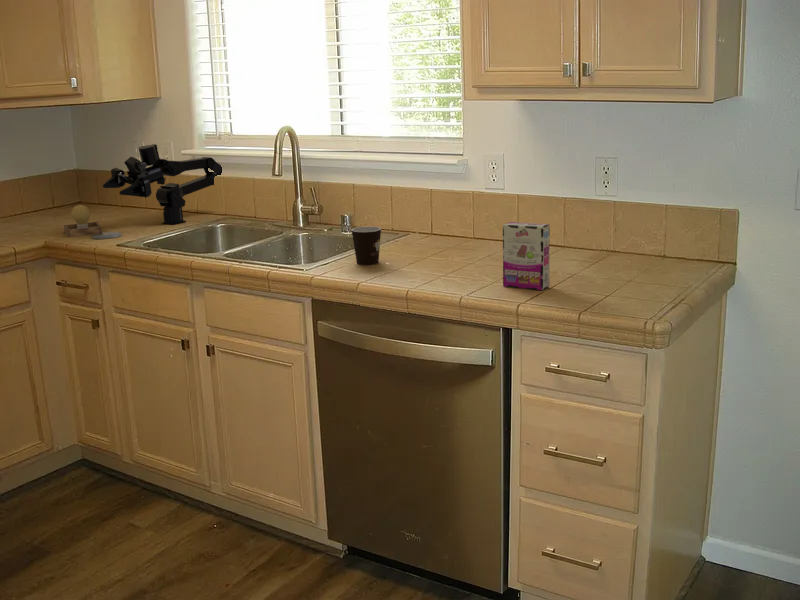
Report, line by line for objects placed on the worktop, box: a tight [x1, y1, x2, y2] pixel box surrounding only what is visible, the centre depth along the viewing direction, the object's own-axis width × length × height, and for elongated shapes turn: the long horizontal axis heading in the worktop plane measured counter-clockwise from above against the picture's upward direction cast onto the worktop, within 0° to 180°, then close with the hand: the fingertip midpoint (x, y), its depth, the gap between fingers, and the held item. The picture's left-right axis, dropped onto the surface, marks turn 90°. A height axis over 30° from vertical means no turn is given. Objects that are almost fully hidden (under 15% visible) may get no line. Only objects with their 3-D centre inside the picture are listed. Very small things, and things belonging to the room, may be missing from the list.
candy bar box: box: [502, 221, 551, 291], centre depth 231 cm, size 11×5×16 cm, turn 59°
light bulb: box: [70, 204, 91, 229], centre depth 326 cm, size 6×6×10 cm
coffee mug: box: [351, 225, 382, 266], centre depth 265 cm, size 12×9×10 cm
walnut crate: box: [63, 221, 103, 237], centre depth 327 cm, size 12×12×2 cm
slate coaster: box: [91, 231, 122, 240], centre depth 319 cm, size 10×10×1 cm
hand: (111, 189), depth 317 cm, fingers open, 9 cm apart
